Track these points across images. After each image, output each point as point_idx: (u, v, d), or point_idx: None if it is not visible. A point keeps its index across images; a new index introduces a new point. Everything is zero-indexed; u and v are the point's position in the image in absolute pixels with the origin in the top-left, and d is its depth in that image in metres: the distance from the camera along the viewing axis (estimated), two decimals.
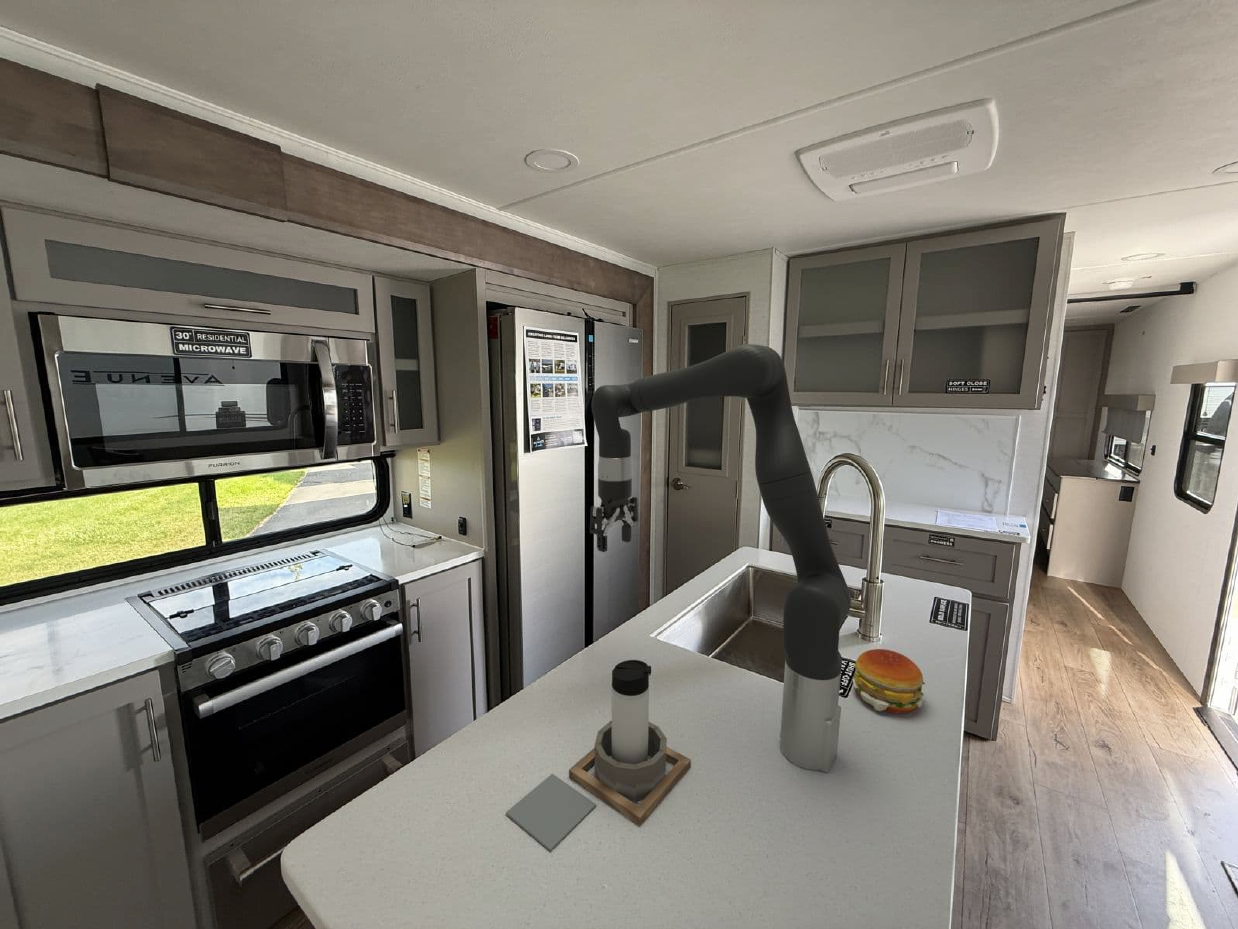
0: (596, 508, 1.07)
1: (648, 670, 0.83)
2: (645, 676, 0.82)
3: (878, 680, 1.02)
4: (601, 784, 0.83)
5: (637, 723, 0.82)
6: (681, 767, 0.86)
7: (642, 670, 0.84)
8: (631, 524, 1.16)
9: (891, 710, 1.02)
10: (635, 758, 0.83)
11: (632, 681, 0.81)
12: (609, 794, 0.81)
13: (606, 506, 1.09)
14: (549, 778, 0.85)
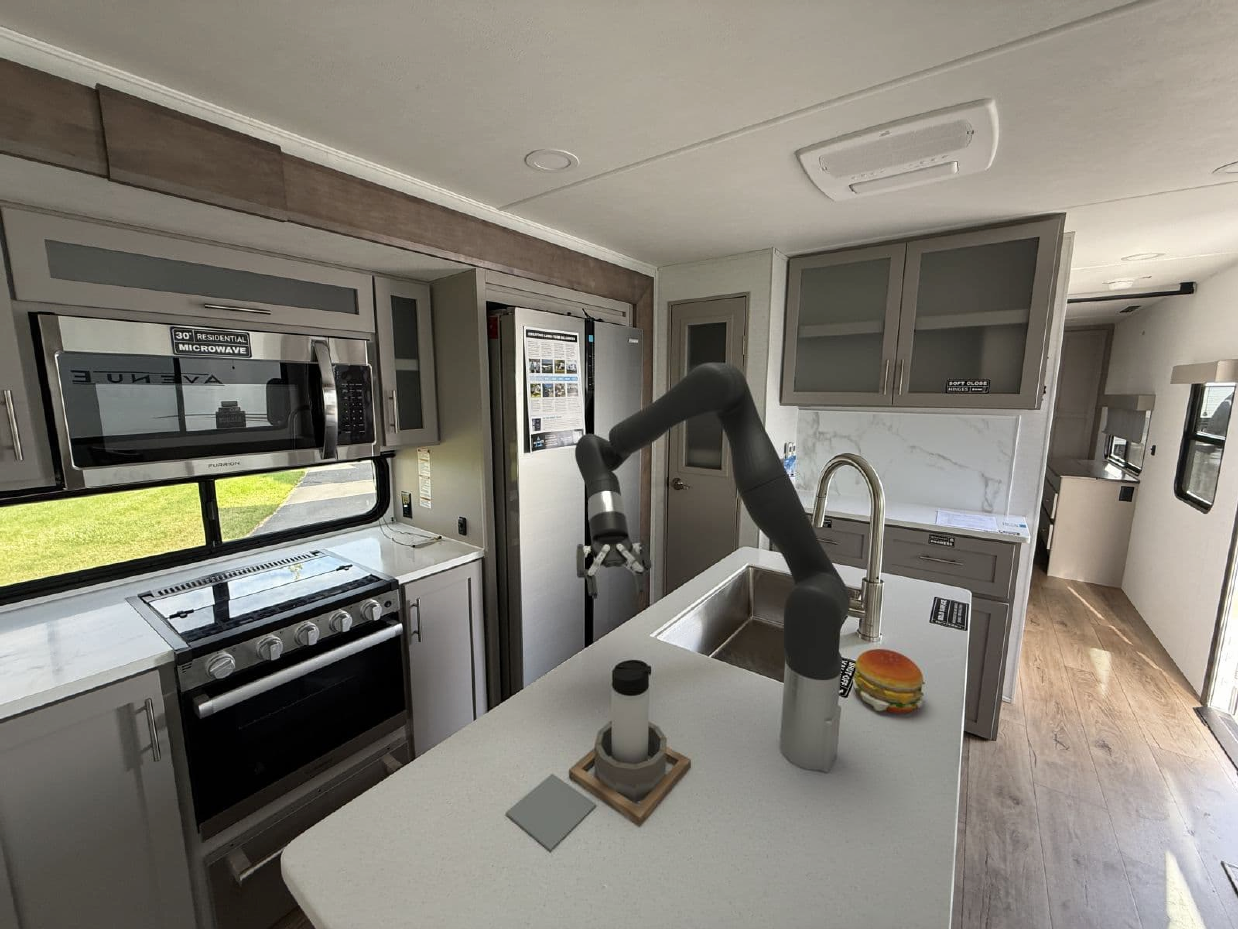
0: None
1: (648, 670, 0.83)
2: (645, 676, 0.82)
3: (878, 680, 1.02)
4: (601, 784, 0.83)
5: (637, 723, 0.82)
6: (681, 767, 0.86)
7: (642, 670, 0.84)
8: (639, 569, 0.96)
9: (891, 710, 1.02)
10: (635, 758, 0.83)
11: (632, 681, 0.81)
12: (609, 794, 0.81)
13: (591, 544, 0.98)
14: (549, 778, 0.85)
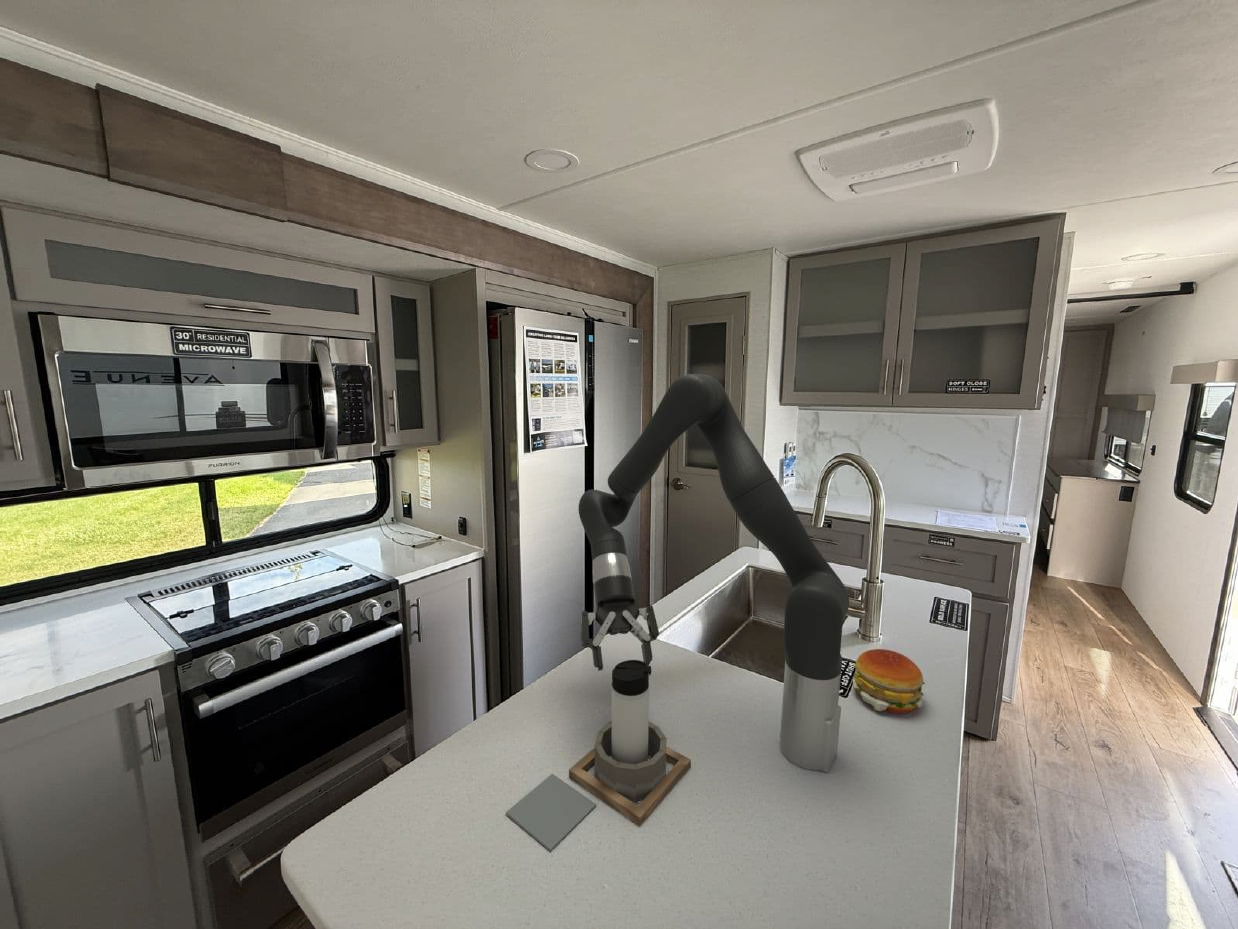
0: (582, 613, 0.94)
1: (648, 670, 0.83)
2: (645, 676, 0.82)
3: (878, 680, 1.02)
4: (601, 784, 0.83)
5: (637, 723, 0.82)
6: (681, 767, 0.86)
7: (642, 670, 0.84)
8: (646, 638, 0.92)
9: (891, 710, 1.02)
10: (635, 758, 0.83)
11: (632, 681, 0.81)
12: (609, 794, 0.81)
13: (596, 611, 0.94)
14: (549, 778, 0.85)
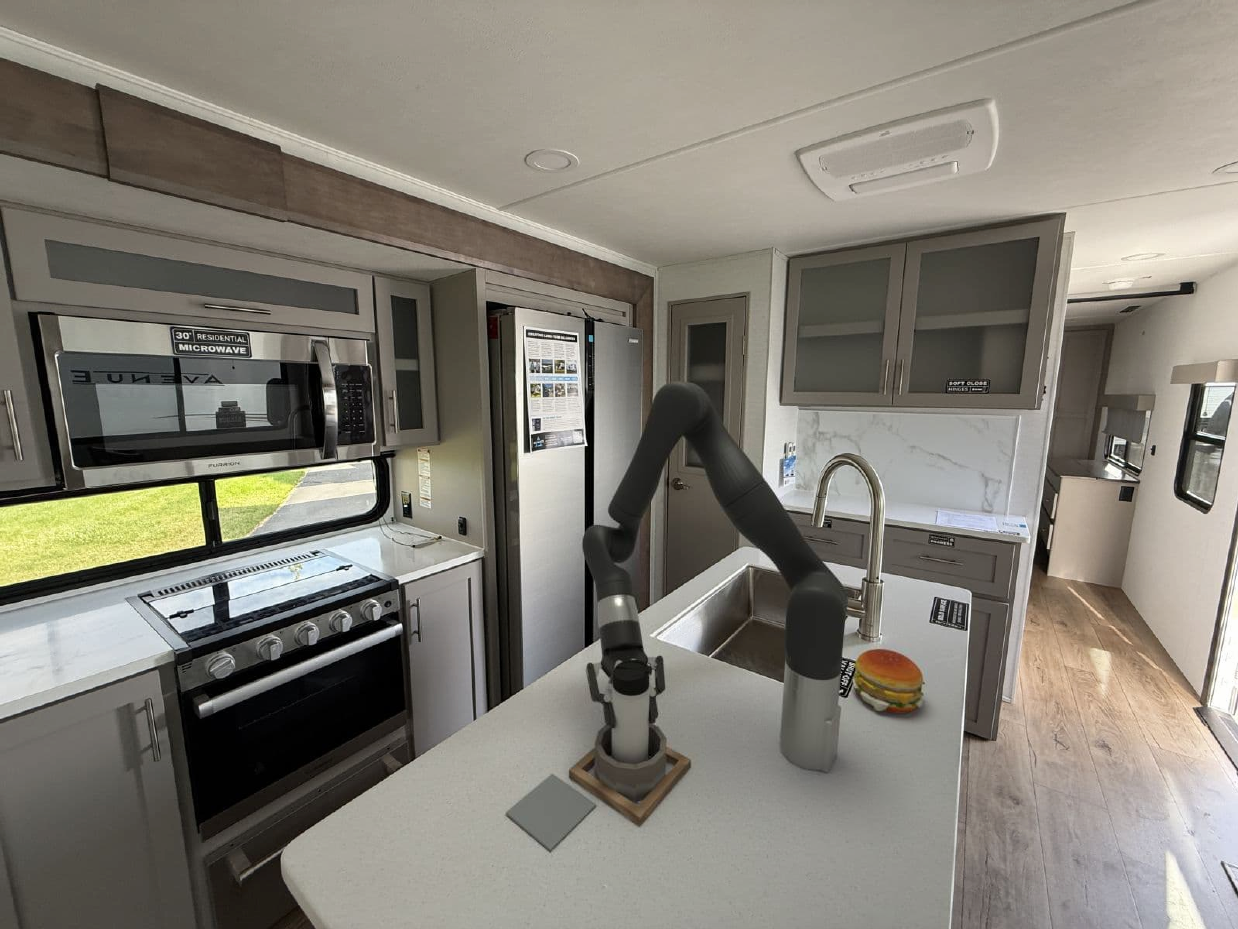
0: (587, 665, 0.88)
1: (649, 670, 0.82)
2: (646, 676, 0.82)
3: (878, 680, 1.02)
4: (601, 784, 0.83)
5: (637, 723, 0.82)
6: (681, 767, 0.86)
7: (643, 670, 0.84)
8: (651, 693, 0.86)
9: (891, 710, 1.02)
10: (635, 758, 0.83)
11: (633, 681, 0.81)
12: (609, 794, 0.81)
13: (602, 660, 0.88)
14: (549, 778, 0.85)
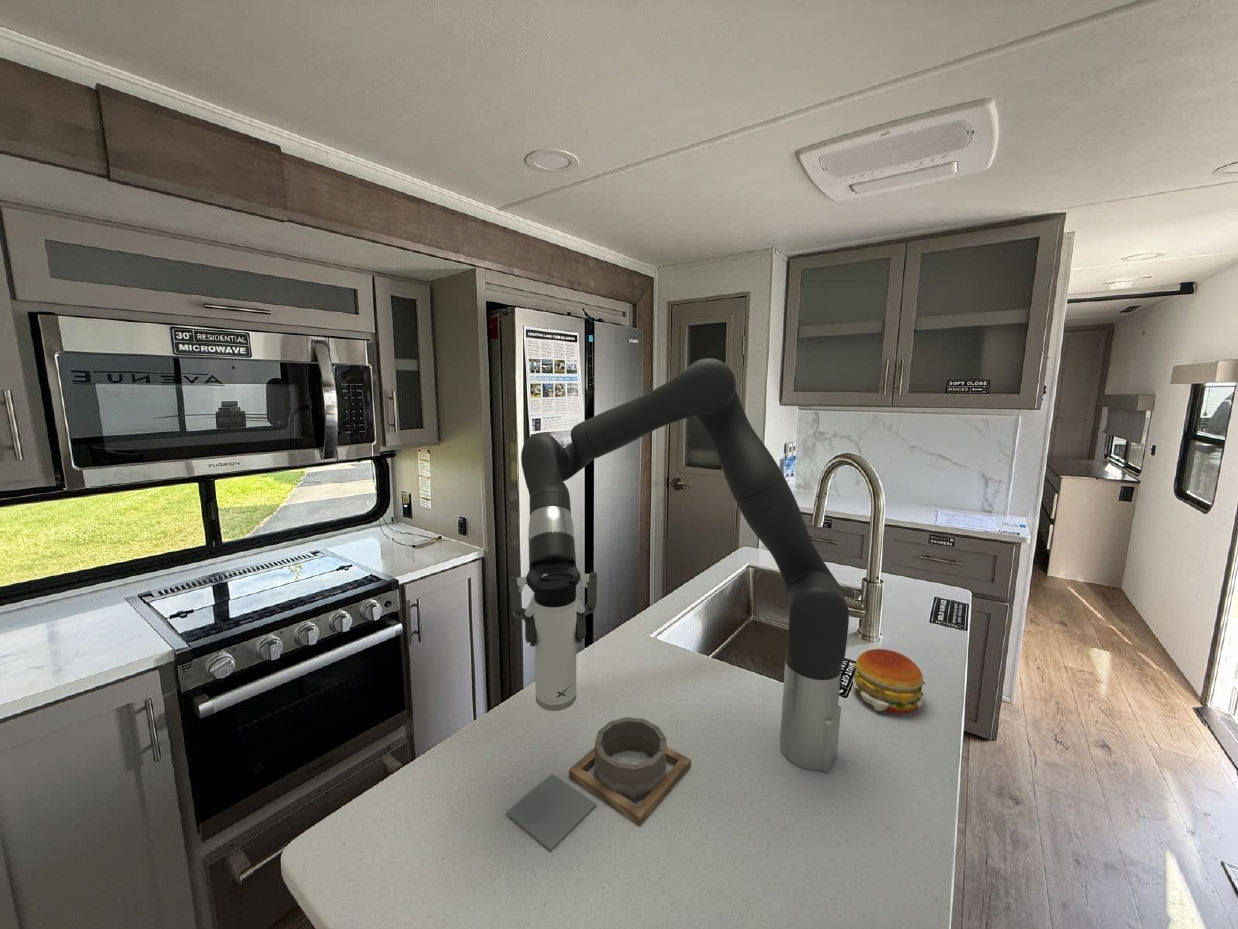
0: None
1: (574, 580, 0.73)
2: (570, 586, 0.72)
3: (878, 680, 1.02)
4: (601, 784, 0.83)
5: (560, 640, 0.73)
6: (681, 767, 0.86)
7: (569, 581, 0.74)
8: (580, 610, 0.76)
9: (891, 710, 1.02)
10: (559, 680, 0.74)
11: (554, 590, 0.71)
12: (609, 794, 0.81)
13: (527, 574, 0.79)
14: (549, 778, 0.85)
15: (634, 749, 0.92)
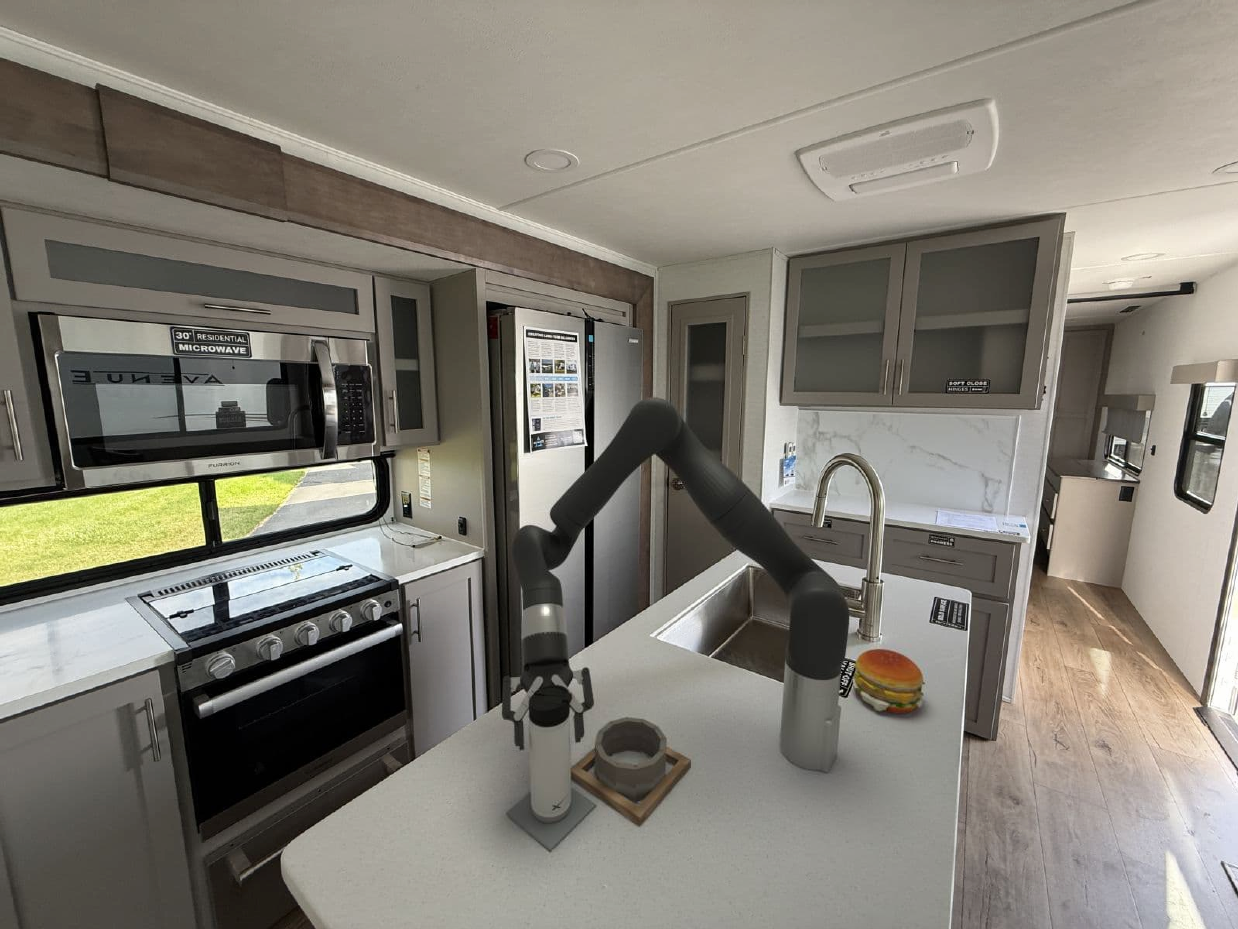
0: None
1: (567, 698, 0.75)
2: (563, 705, 0.74)
3: (878, 680, 1.02)
4: (601, 784, 0.83)
5: (554, 757, 0.74)
6: (681, 767, 0.86)
7: (562, 697, 0.76)
8: (578, 709, 0.78)
9: (891, 710, 1.02)
10: (554, 794, 0.76)
11: (548, 711, 0.73)
12: (609, 794, 0.81)
13: (521, 675, 0.80)
14: None
15: (634, 749, 0.92)
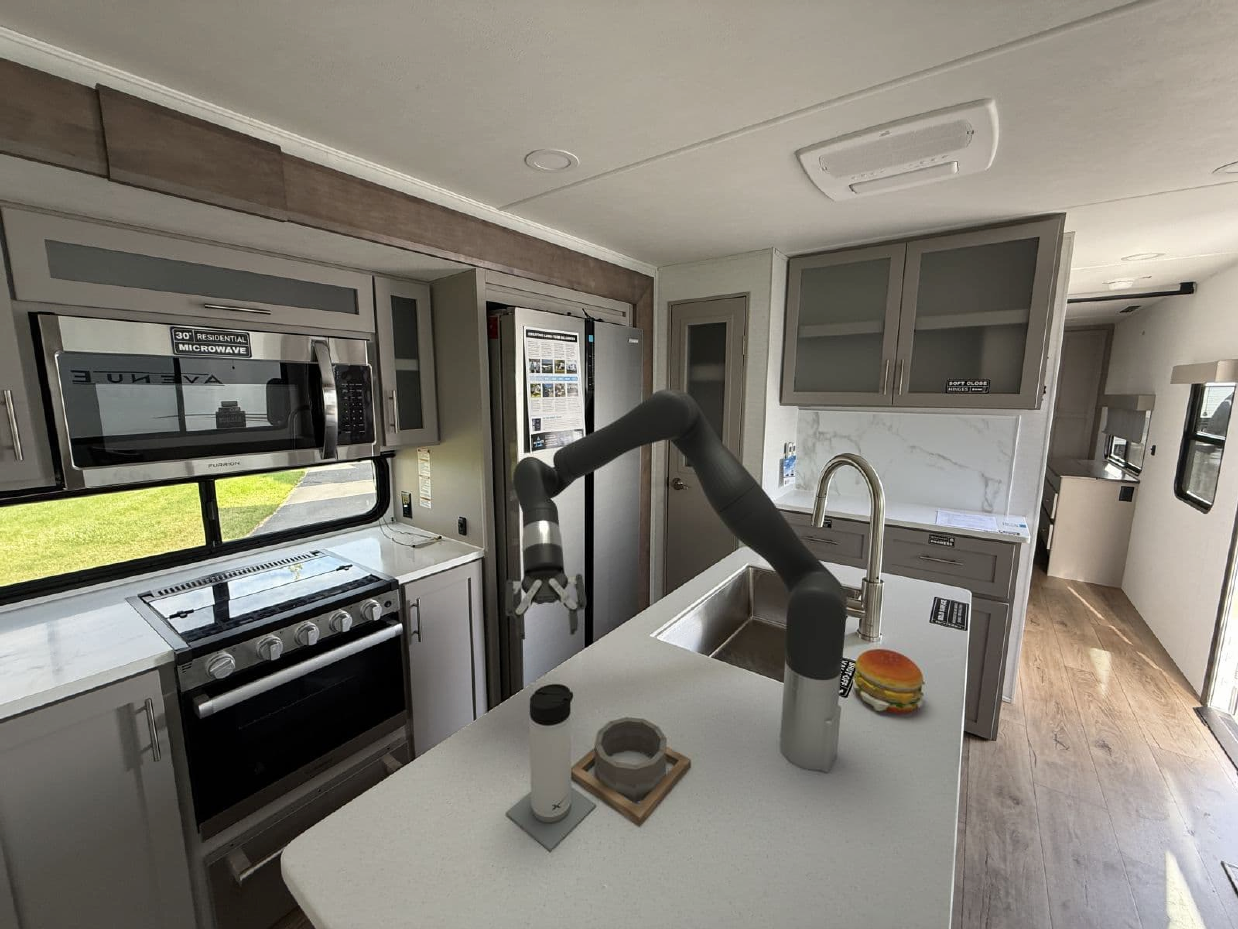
0: None
1: (568, 697, 0.75)
2: (564, 704, 0.74)
3: (878, 680, 1.02)
4: (601, 784, 0.83)
5: (555, 756, 0.75)
6: (681, 767, 0.86)
7: (563, 696, 0.76)
8: (572, 606, 0.89)
9: (891, 710, 1.02)
10: (554, 793, 0.76)
11: (549, 709, 0.73)
12: (609, 794, 0.81)
13: (523, 579, 0.91)
14: None
15: (634, 749, 0.92)
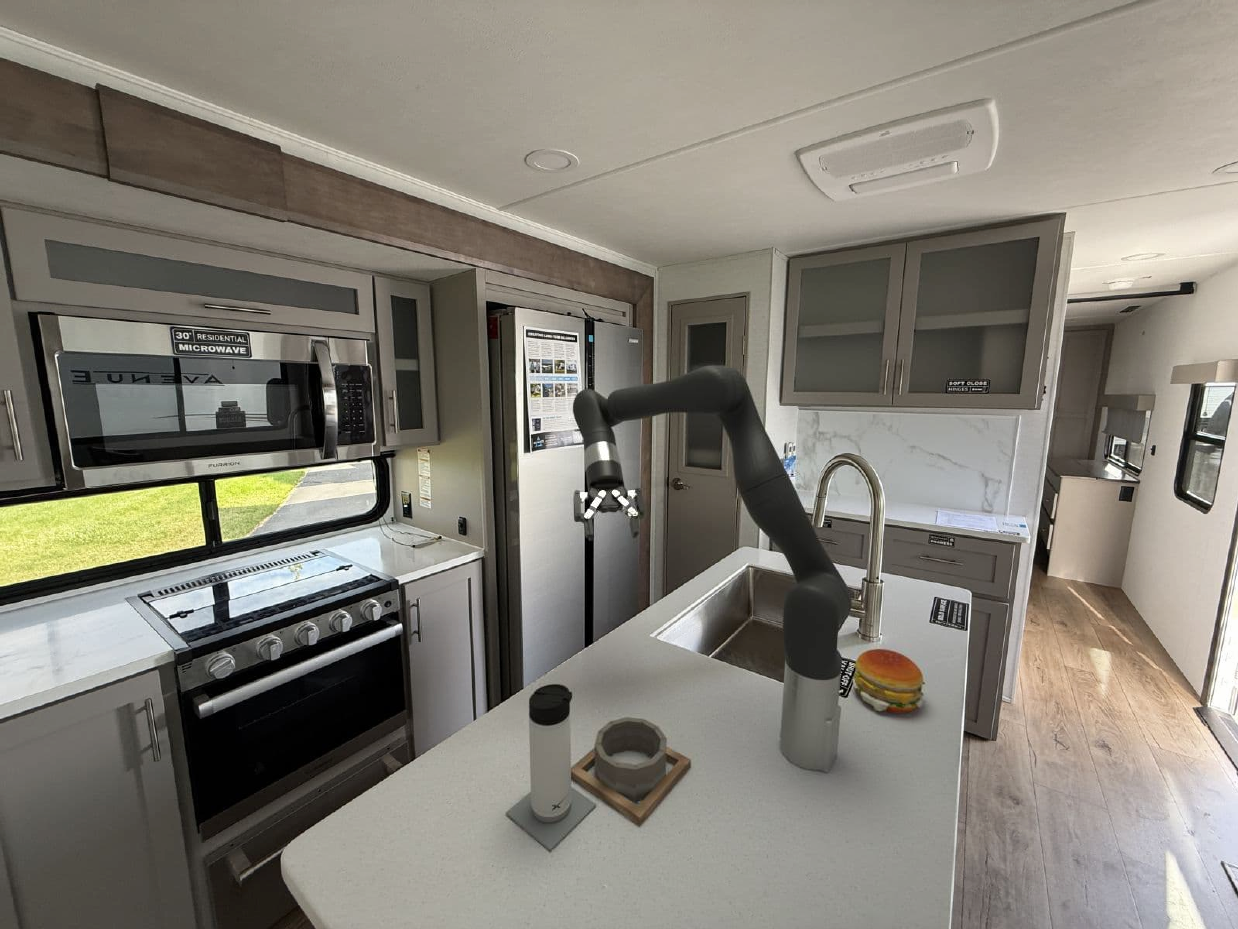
0: None
1: (567, 697, 0.75)
2: (563, 704, 0.74)
3: (878, 680, 1.02)
4: (601, 784, 0.83)
5: (554, 756, 0.75)
6: (681, 767, 0.86)
7: (562, 696, 0.76)
8: (634, 514, 0.99)
9: (891, 710, 1.02)
10: (554, 793, 0.76)
11: (548, 709, 0.73)
12: (609, 794, 0.81)
13: (588, 491, 1.01)
14: None
15: (634, 749, 0.92)
